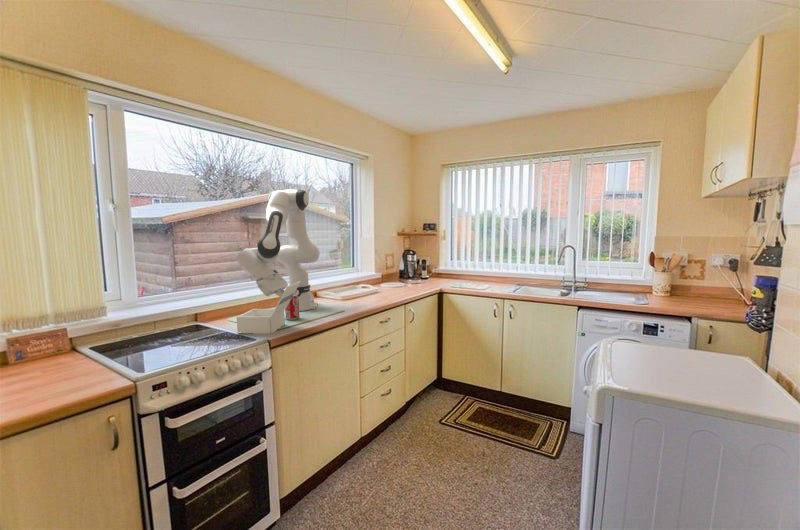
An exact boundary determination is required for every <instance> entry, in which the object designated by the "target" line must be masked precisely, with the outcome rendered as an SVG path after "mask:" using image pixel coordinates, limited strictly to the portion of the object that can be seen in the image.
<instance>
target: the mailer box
mask: <svg viewBox="0 0 800 530" xmlns="http://www.w3.org/2000/svg"><path fill="white" fill-rule="evenodd" d="M274 310H275V308H251V309H250V310H248V311H246V312H244V313H241V314H240V315H238V316H236V324H237V325H236V327H237V333H238V332H241V333H253V334H252V335H272V334H273V333H275V332H276V331H277V329H278V328H279V329H280V328H282V327H283V326H284V324H285V309H284V310H283V311H281V312H279V313H278V314H276V315H275V316H273V317H271V315H272V313H273V311H274ZM282 325H283V326H282ZM281 326H282V327H281ZM279 329H278V330H279Z"/></svg>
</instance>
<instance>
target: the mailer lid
mask: <svg viewBox="0 0 800 530" xmlns="http://www.w3.org/2000/svg"><path fill="white" fill-rule="evenodd" d="M299 284H300V281H299V282H296V283H294V284H292V285H290V284H289V285H288V286H287V287H286V288H285V289H284V293H283V295H282V297H280V298H279V300H278V303H277V304H276V306H275V308H274V309H275V310H274V311H273V313H272V315H271V317H273V316H275V315H276V314H278V313H279V312H281V311H283V310H284V311H285V309H286V307H287V305H288V304H289V302H290V300H291V298H292V297H293V295H294V293H295V291H296V289H297V287H298V285H299Z"/></svg>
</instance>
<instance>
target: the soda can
mask: <svg viewBox="0 0 800 530" xmlns="http://www.w3.org/2000/svg"><path fill="white" fill-rule="evenodd" d="M284 314H285V319H286V320H287V319H288V320H287V321H295V320H294V319H296V320H298V319H299V318H300V311H299V299H298V296H297V294H294V295H293V297H292V298H291V300H290V302H289V304H288V305H287V307H286V309H284Z"/></svg>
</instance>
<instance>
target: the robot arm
mask: <svg viewBox="0 0 800 530" xmlns="http://www.w3.org/2000/svg"><path fill="white" fill-rule="evenodd" d="M267 201H268V203H267V206H266V210H265V221H266V222H267V224H266V227H265V231H264V234H263V235H262V237H261V238H260V239H259V240H258V242H257V246H256V247H253V248H249V247H248V248H247V247H246V248H244V249H243V250H241V251H240V252H239V254H238V256H237V260H236V261H237V263H238V264H239V266H240V267H241V268H242V269H243V270H244V271H245V272H246V273H247V274H249V275H250V276H251V278H252V279H253V280H254V282H255V284H256V285H257V287H258V289H259V290H260V292H262V293H263V295H265V296H266V297H269V296H272V295H274V294H275V295H276V296H278V297H280V298H281V297H282V295H283V293H284V291H285V289H286V288H287V286H290V285H292V284H294V283H296V282H299V281H300V284H299V285H298V287H297V289H296V291H295V293H294V294H297V296H298V299H299V312H302V311H304V312H305V311H309V310H310V311H311V310H315V309H316V308H317V306H318V304H319V303H318V301H315V298H314V297H315V296H314V295H313V293H312V292H311V284H309V273H308V272H307V270H306V269H304V268H302V267H301V266H300V265H299V264H310V263H314V262H315V263H316V262H317V261H318V259H320V258H319V257H320V251H319V248H318V247H317V246H316V245H315V244H313V242H312V241H311V239H310V238H309V237H308V233H307V232H308V231H307V223H306V213H305V209H306V208H307V207H308V205H309V195H308V193H307V191H306V190H304V189H291V188H289V189H288V188H287V189H281V190H280V189H279V190H273V191H271V192H270V193H269V194H268V198H267ZM285 224H286V234H287V236H288V237H289V238H290V239H293V240H294V241H295V242H296V244H284V245H281V242H280V231H281V227H282V226H284V225H285ZM277 261H278V262H280V263H281V264H282V265H283V266H284V267H285V268H286V269H285V270H286V271H287V274H288V280H289V282H287V281H286V280H285V278H283V276H282V275H280V274H279V272H278V270H276V269H272V268H270V267H269V266H272V265H273V264H275V262H277Z"/></svg>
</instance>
